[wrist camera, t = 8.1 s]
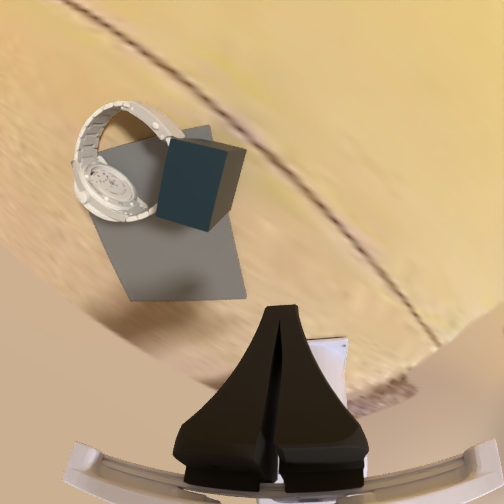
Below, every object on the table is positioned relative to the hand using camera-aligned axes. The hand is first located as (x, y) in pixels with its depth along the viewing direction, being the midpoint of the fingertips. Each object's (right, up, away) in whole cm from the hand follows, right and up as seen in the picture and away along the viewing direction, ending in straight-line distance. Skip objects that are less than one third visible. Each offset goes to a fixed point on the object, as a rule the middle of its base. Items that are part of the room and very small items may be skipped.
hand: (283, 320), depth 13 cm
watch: (-3, +7, +4) cm, 8 cm away
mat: (-9, +5, +10) cm, 14 cm away
